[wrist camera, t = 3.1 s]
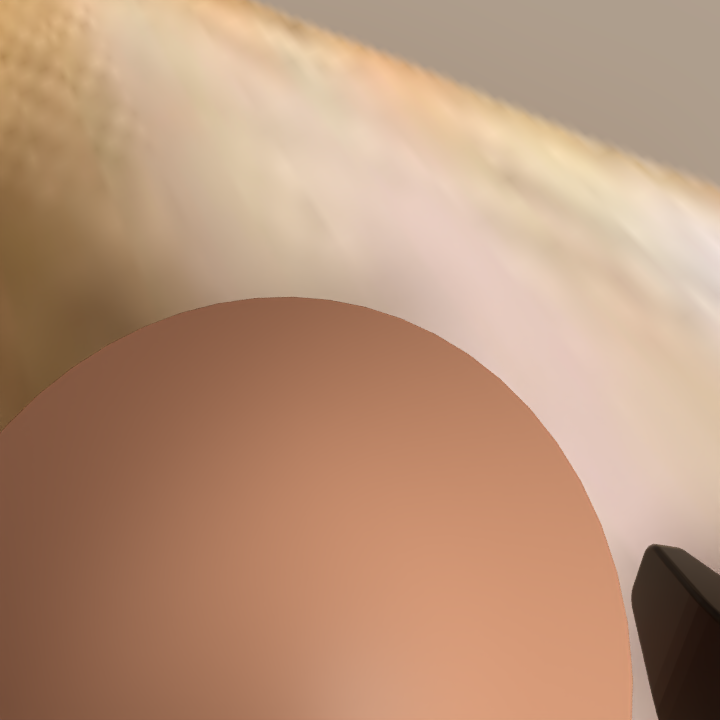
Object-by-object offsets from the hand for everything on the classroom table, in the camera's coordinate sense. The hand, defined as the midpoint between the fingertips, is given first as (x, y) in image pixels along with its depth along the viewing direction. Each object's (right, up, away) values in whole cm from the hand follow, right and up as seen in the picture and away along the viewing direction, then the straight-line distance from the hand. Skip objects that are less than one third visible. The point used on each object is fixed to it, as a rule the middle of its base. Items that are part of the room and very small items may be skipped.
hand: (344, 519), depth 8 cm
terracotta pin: (0, -4, +5) cm, 7 cm away
